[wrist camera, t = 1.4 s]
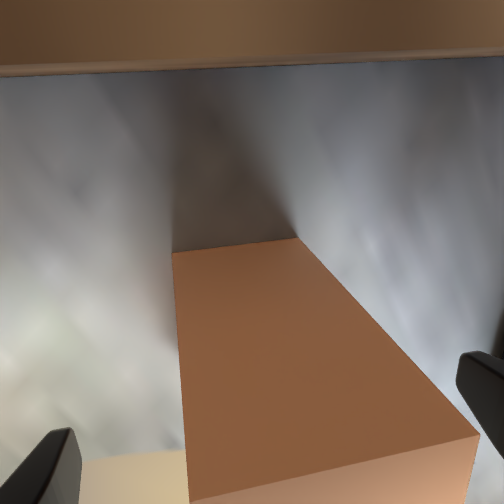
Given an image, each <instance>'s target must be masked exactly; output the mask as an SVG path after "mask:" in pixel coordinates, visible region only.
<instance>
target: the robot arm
mask: <svg viewBox="0 0 504 504" xmlns="http://www.w3.org/2000/svg"><path fill="white" fill-rule="evenodd" d="M456 386H457V388H458V390H459V392H460V394H461V395H462V397H463V398H464V400H465V402H466V403H467V405H468V406H469V408H470V409H471V411H472V413H473V414H474V416H475V417H476V419H477V420H478V422H479V424H480V425H481V427H482V428H483V430H484V431H485V433H486V435H487V436H488V438H489V439H490V441H491V442H492V444H493V445H494V447H495V448H496V449H497V451H498V452H499V454H500V455H501V456H502V458H503V459H504V352H503V356H502V359H499V358H497V357H494V356H491V355H489V354H486V353H484V352H481V351H472V352H467V353H463V354H462V355H461V356H460V359H459V364H458V369H457V374H456ZM81 470H82V458H81V453H80V450H79V447H78V443H77V440H76V436H75V433H74V431H73V429H72V428H70V427H66V428H61V429H56V430H52V431H50V432H49V433H48V434H47V435H46V436H45V437H44V438H43V439H42V440H41V441H40V443H39V444H38V445H37V446H36V447H35V448H34V449H33V451H32V452H31V453H30V454H29V455H28V456H27V457H26V459H25V460H24V461H23V462H22V463H21V464H20V465H19V466H18V468H17V469H16V470H15V471H14V472H13V473H12V474H11V476H10V477H9V478H8V479H7V480H6V481H5V482H4V484H3V485H2V486H1V487H0V504H78V501H79V491H80V480H81Z"/></svg>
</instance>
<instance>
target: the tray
mask: <svg viewBox="0 0 504 504" xmlns="http://www.w3.org/2000/svg"><path fill="white" fill-rule="evenodd" d="M499 56H504V0H0V77H24V76H47V75H71V74H95V73H119V72H142V71H166V70H190V69H214V68H237V67H261V66H285V65H309V64H332V63H356V62H380V61H404V60H427V59H451V58H475V57H499Z"/></svg>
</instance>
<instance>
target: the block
mask: <svg viewBox="0 0 504 504" xmlns="http://www.w3.org/2000/svg"><path fill="white" fill-rule="evenodd" d="M172 265H173V279H174V293H175V307H176V321H177V335H178V349H179V363H180V377H181V391H182V405H183V419H184V433H185V447H186V461H187V475H188V489H189V503H190V504H464V502H465V497H466V493H467V489H468V485H469V481H470V477H471V472H472V468H473V464H474V460H475V456H476V452H477V447H478V443H479V439H480V433H479V432H478V431H477V430H476V429H475V428H474V427H473V426H472V425H471V424H470V423H469V422H468V420H467V419H466V418H465V417H464V416H463V415H462V414H461V413H460V412H459V411H458V410H457V409H456V408H455V406H454V405H453V404H452V403H451V402H450V401H449V400H448V399H447V398H446V397H445V396H444V395H443V393H442V392H441V391H440V390H439V389H438V388H437V387H436V386H435V385H434V384H433V383H432V382H431V380H430V379H429V378H428V377H427V376H426V375H425V374H424V373H423V372H422V371H421V370H420V369H419V368H418V366H417V365H416V364H415V363H414V362H413V361H412V360H411V359H410V358H409V357H408V356H407V355H406V353H405V352H404V351H403V350H402V349H401V348H400V347H399V346H398V345H397V344H396V343H395V342H394V340H393V339H392V338H391V337H390V336H389V335H388V334H387V333H386V332H385V331H384V330H383V329H382V327H381V326H380V325H379V324H378V323H377V322H376V321H375V320H374V319H373V318H372V317H371V316H370V315H369V313H368V312H367V311H366V310H365V309H364V308H363V307H362V306H361V305H360V304H359V303H358V302H357V300H356V299H355V298H354V297H353V296H352V295H351V294H350V293H349V292H348V291H347V290H346V289H345V287H344V286H343V285H342V284H341V283H340V282H339V281H338V280H337V279H336V278H335V277H334V276H333V275H332V273H331V272H330V271H329V270H328V269H327V268H326V267H325V266H324V265H323V264H322V263H321V262H320V260H319V259H318V258H317V257H316V256H315V255H314V254H313V253H312V252H311V251H310V250H309V249H308V247H307V246H306V245H305V244H304V243H303V242H302V241H301V240H300V239H299V238H290V239H282V240H274V241H266V242H258V243H249V244H241V245H233V246H225V247H216V248H208V249H200V250H192V251H184V252H175V253H172Z"/></svg>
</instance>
